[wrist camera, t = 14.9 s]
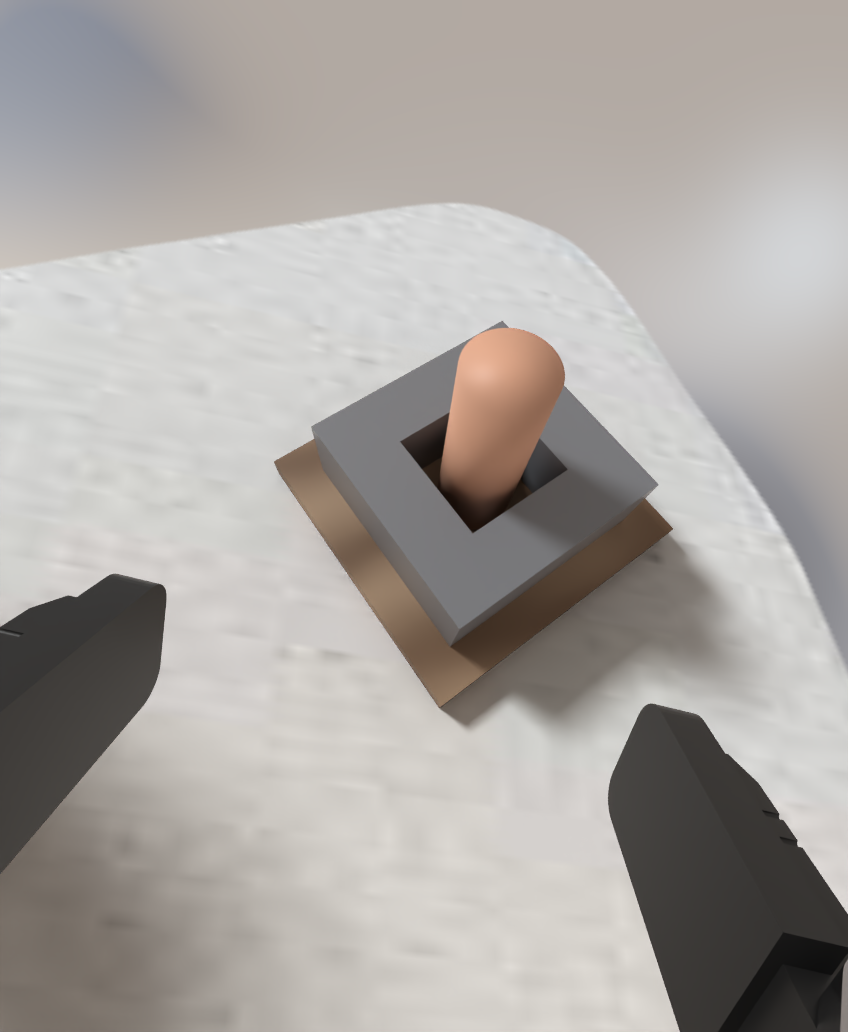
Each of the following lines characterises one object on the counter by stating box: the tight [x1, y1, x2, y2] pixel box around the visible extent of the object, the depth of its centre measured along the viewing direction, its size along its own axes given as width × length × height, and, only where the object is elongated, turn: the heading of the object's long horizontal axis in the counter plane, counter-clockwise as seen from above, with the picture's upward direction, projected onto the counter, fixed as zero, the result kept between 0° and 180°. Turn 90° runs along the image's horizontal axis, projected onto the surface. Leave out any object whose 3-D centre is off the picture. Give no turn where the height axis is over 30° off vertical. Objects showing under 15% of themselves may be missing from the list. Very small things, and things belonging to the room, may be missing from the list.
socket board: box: [274, 439, 673, 708], centre depth 31 cm, size 16×16×2 cm
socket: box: [311, 321, 659, 646], centre depth 28 cm, size 12×12×4 cm
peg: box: [437, 328, 565, 530], centre depth 25 cm, size 4×4×11 cm
